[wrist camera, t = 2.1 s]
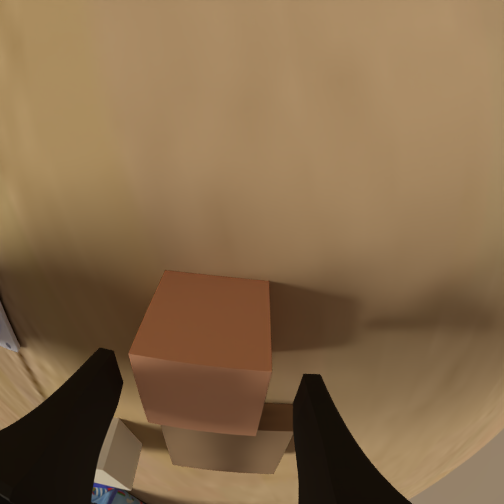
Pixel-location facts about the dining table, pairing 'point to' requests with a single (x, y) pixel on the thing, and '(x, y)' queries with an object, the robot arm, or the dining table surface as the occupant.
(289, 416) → the walnut slab
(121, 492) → the lunch bag
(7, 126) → the dining table surface
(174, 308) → the terracotta block
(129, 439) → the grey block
